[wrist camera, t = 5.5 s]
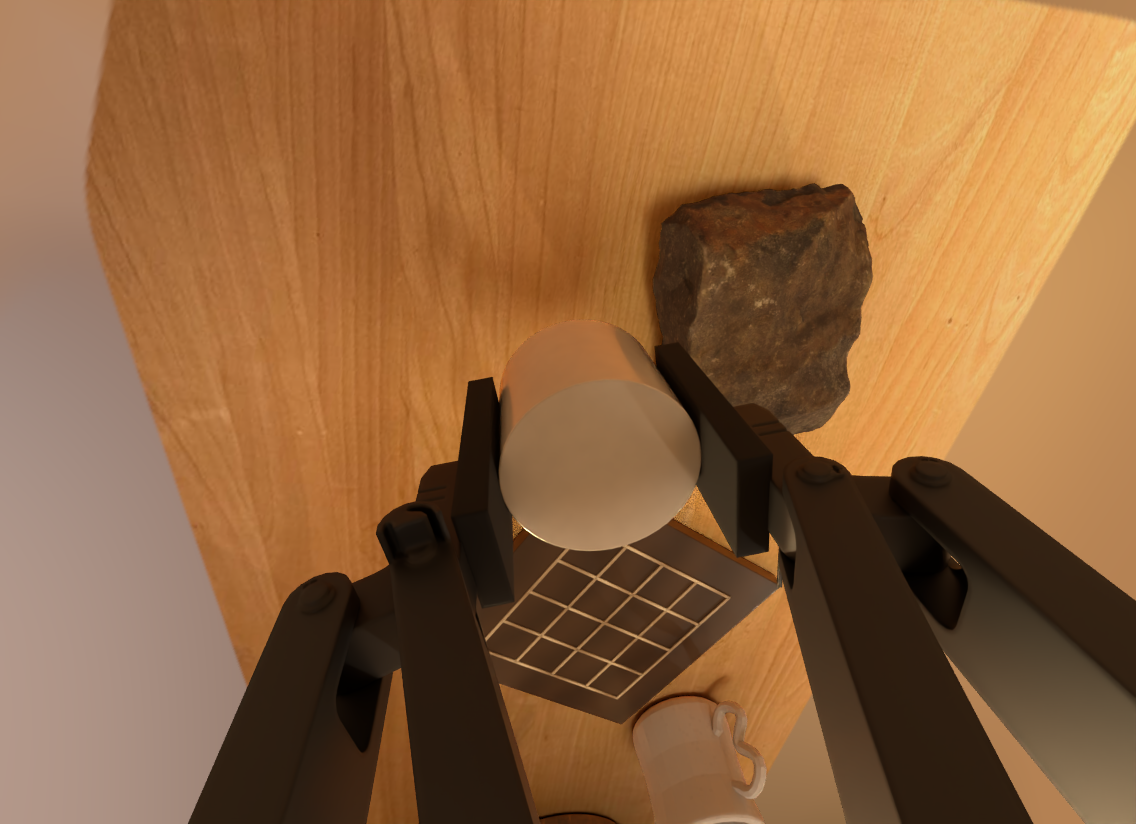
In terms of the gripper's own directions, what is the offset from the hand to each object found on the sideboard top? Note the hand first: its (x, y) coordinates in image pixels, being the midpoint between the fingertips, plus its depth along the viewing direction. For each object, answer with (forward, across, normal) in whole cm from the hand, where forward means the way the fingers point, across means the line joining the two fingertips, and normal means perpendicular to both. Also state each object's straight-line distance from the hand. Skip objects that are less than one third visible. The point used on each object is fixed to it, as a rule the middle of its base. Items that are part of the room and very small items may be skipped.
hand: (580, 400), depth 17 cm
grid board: (+14, 0, -26) cm, 29 cm away
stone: (+14, +10, -3) cm, 17 cm away
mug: (+14, +6, -42) cm, 45 cm away
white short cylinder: (0, 0, 0) cm, 0 cm away
